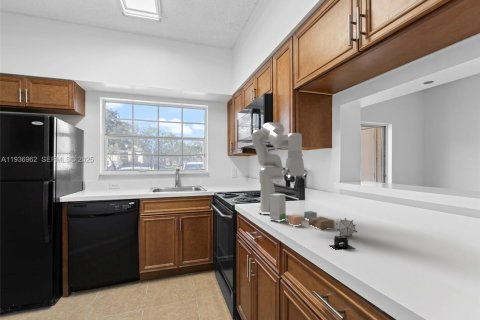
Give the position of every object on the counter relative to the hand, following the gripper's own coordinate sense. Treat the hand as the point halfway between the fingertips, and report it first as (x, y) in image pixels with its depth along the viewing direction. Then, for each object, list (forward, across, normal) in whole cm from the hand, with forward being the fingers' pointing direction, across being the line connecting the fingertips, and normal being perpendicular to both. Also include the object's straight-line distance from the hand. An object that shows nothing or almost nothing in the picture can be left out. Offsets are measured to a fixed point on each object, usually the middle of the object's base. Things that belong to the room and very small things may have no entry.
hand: (295, 186), depth 125 cm
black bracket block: (+22, +6, +34) cm, 41 cm away
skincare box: (+21, +2, -13) cm, 25 cm away
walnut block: (+21, -10, +9) cm, 25 cm away
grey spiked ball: (+21, -8, +26) cm, 34 cm away
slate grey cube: (+21, -16, -5) cm, 27 cm away
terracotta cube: (+21, 0, 0) cm, 21 cm away
